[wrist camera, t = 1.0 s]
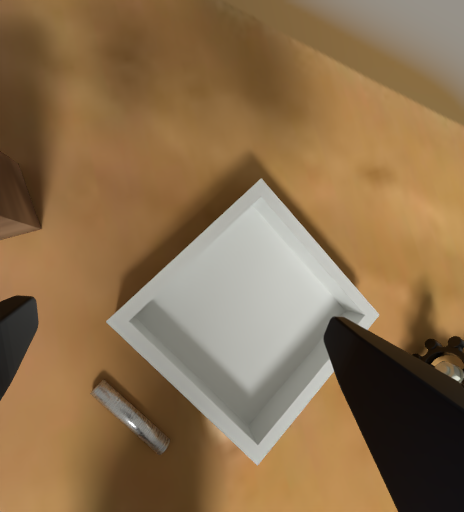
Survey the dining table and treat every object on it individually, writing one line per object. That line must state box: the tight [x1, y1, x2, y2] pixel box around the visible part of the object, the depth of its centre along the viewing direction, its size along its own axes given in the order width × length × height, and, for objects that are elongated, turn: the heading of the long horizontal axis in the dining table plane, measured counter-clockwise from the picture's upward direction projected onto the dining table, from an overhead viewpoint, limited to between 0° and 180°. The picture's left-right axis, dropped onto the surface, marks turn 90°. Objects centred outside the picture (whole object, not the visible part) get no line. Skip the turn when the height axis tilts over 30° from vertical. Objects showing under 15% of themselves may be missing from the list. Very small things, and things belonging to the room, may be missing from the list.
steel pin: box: [90, 379, 170, 455], centre depth 20 cm, size 7×1×1 cm
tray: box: [106, 178, 379, 465], centre depth 21 cm, size 15×15×3 cm
